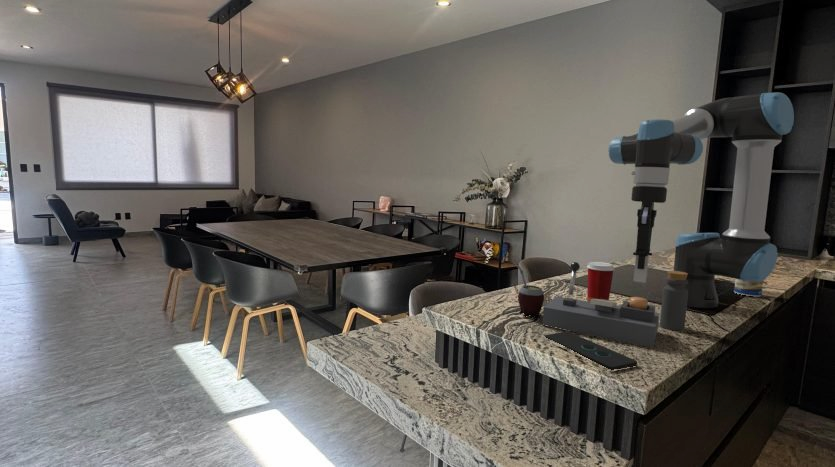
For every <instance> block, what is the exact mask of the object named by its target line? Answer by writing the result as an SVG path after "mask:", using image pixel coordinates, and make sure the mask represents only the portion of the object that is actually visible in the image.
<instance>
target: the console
mask: <svg viewBox="0 0 835 467" xmlns="http://www.w3.org/2000/svg"><path fill="white" fill-rule="evenodd" d="M629 303H630V301H626V300H624V301H623V302H622V304H621V305H620V306H618V305H617V306H616V307H608V306H601V305H595V304H590V302H588V301H587V300H583V299H582V300H581V299H576V298H572V297H571V298H570V297H564V296H556V297H555V298H553V299H552V300H551V301H550V302H548V303H547V304H546V305H545V306H544V305H543V311H542V324H544V325H548V326H552V327H557V328H561V329H566V330H570V331H569V332H571V331H575V332H574V333H577V332H579V333H578V334H582V333H583V335H587V336H594V337H597V338H601V339H607V340H612V341H616V342H617V341H618V342H622V343H628V344H634V345H637V346H644V347H648V348H652V349H653V348H654V346H655V341H656V340H657V339H656V338H657V334H658V330H659V329H658V328H659V322H660V312H656V305H651V304H647V310H643V309H637V308H631V307H629ZM561 329H560V330H561ZM566 330H565V331H566Z"/></svg>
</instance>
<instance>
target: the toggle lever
mask: <svg viewBox="0 0 835 467" xmlns="http://www.w3.org/2000/svg"><path fill="white" fill-rule="evenodd" d="M580 267H581V266H580V264H579V263H578V262H577V261H574V262H572V263H571V264H570V270H571V276H570V281H569V282H570V283H569V286H568V287H569V288H568V295H571V296H573V295H574V291H575V285H576V278H577V271H579V270H580Z"/></svg>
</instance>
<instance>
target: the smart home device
mask: <svg viewBox="0 0 835 467" xmlns="http://www.w3.org/2000/svg"><path fill="white" fill-rule="evenodd" d="M544 336H545V337H546V338H548V339H550V340H553V341H555V342H557V343H559V344H561V345H563V346H565V347H567V348H569V349H571V350H573V351H574V352H577V353H579V354H580V355H582V356H584V357H586V358H588V359H590V360H592V361H594V362H596V363H598V364H600V365H602V366H604V367H606V368H608V369H611V370H614V369H621V368H627V367H633V366H637V367H638V360H636V359H633V358H631V357H629V356H626V355H624V354H623V353H619V352H617V351H615V350H612V349H610V348H607V347H605V346H603V345H601V344H598V343H597V342H594V341H591V340H589V339H586V338H585V337H582V336H580V335H577V334H575V333H574V332H571V331H563V332H558V333H557V332H556V333H551V334H544V335H543V337H544Z"/></svg>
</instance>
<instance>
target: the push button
mask: <svg viewBox="0 0 835 467" xmlns="http://www.w3.org/2000/svg"><path fill="white" fill-rule="evenodd" d="M629 302H630V303H629V307H631V308H637V309H643V310H647V305H648V302H649V300H648V299H647V298H645V297H639V296H630V298H629Z"/></svg>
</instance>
